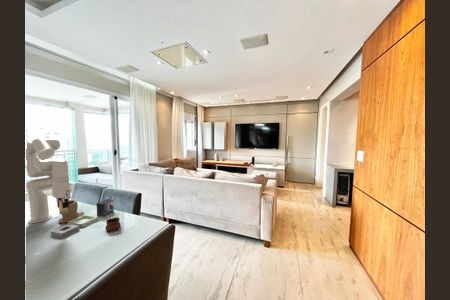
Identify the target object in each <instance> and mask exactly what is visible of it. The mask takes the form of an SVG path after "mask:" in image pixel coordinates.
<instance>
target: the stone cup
mask: <svg viewBox="0 0 450 300" xmlns="http://www.w3.org/2000/svg"><path fill="white" fill-rule="evenodd" d="M68 203H69V207H67V210H68V213H66V214H61V216H62V217H60V218H59V219H58V223H60V224H64V223H67V222H68V221H71V220H73V219H75V218H78V217H80V216H83V215H85V212H84V211H80V212H78V208H79V204H78V202H77V200H75V199H69V201H68Z"/></svg>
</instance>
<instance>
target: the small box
mask: <svg viewBox="0 0 450 300" xmlns="http://www.w3.org/2000/svg"><path fill="white" fill-rule="evenodd" d="M114 210H115V209H114V199H111V198H110V199H109V198H107V199H103V200H102V201H98V202H97V203H96V216H97V217H101V218H102V217H105V216H107V215H109V214H112V213H114Z"/></svg>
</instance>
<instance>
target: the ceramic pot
mask: <svg viewBox="0 0 450 300" xmlns="http://www.w3.org/2000/svg"><path fill="white" fill-rule="evenodd" d="M120 221H121V220H120V217H113V218H108V219H106V220H105V223H106V225H105V231H106V232H107V233H113V231H115V232H117V231H119V230H120V229H121V227H122V226H121V225H122V223H121V222H120ZM119 228H120V229H119ZM118 229H119V230H118ZM116 230H117V231H116Z"/></svg>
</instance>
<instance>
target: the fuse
mask: <svg viewBox="0 0 450 300" xmlns="http://www.w3.org/2000/svg"><path fill="white" fill-rule="evenodd" d="M58 202H59V208H58V210H59V211H58V212H59V213H58V214H59V215H62V214H66V213H68V210H67V208H64V209H63V207H62V202H63V200H62V199H60V200H58Z"/></svg>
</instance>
